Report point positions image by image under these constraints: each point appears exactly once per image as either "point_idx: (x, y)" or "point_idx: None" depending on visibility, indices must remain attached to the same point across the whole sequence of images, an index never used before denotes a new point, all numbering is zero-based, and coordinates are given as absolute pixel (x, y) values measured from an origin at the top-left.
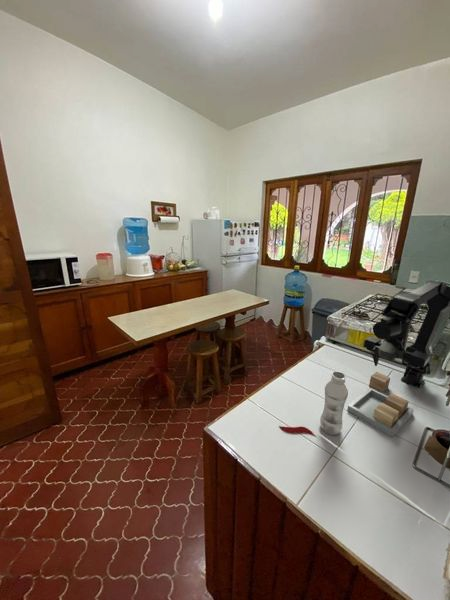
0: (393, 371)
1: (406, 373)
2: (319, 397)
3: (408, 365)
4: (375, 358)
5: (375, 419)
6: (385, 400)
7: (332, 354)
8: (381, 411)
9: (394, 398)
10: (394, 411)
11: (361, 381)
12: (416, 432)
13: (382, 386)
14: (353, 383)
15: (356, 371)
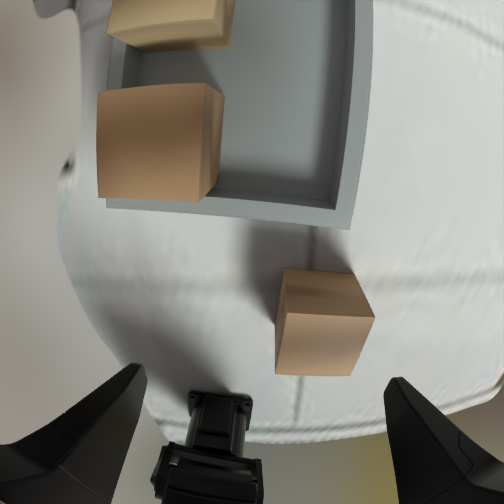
0: (288, 422)
1: (96, 395)
2: (475, 25)
3: (13, 471)
4: (443, 440)
5: None
6: (244, 193)
7: (482, 366)
8: None
9: (162, 142)
10: (125, 9)
11: (390, 290)
12: (85, 95)
13: (293, 291)
14: (420, 243)
15: (414, 343)
